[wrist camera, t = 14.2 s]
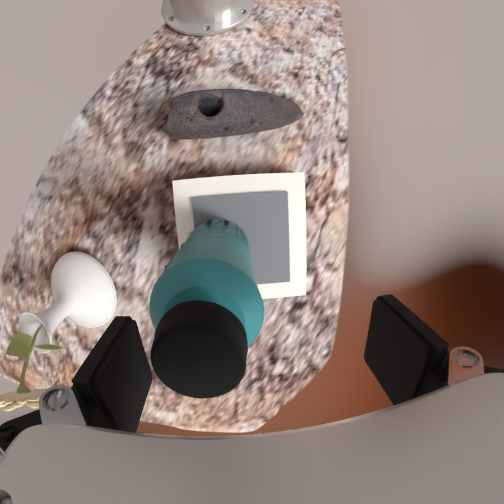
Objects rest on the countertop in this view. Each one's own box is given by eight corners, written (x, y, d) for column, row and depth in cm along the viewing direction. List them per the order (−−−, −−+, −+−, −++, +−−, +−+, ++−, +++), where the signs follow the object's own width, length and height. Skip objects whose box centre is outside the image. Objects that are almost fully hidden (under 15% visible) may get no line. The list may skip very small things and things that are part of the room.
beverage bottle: (236, 205, 28) (245, 261, 9) (258, 263, 30) (299, 398, 10) (179, 228, 28) (86, 318, 9) (202, 283, 30) (167, 429, 10)
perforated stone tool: (296, 101, 29) (311, 83, 23) (298, 140, 31) (314, 131, 24) (174, 104, 29) (160, 87, 22) (174, 144, 30) (159, 136, 23)
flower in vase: (64, 315, 34) (-28, 414, 10) (54, 245, 32) (-75, 317, 7) (134, 328, 36) (61, 469, 11) (129, 252, 33) (-2, 366, 9)
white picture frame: (179, 180, 31) (171, 180, 27) (295, 173, 32) (305, 172, 27) (191, 290, 35) (186, 305, 30) (298, 282, 35) (306, 296, 31)
